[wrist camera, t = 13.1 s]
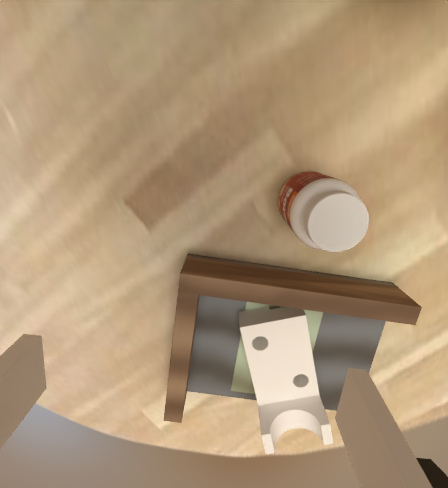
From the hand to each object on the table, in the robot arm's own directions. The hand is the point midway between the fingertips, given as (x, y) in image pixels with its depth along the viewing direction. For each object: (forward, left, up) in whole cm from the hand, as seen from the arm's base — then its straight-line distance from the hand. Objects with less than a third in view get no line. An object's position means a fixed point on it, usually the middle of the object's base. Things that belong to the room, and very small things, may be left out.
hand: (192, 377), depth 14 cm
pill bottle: (-5, +9, -24) cm, 26 cm away
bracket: (+13, +10, -23) cm, 28 cm away
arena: (+12, +9, -24) cm, 28 cm away
